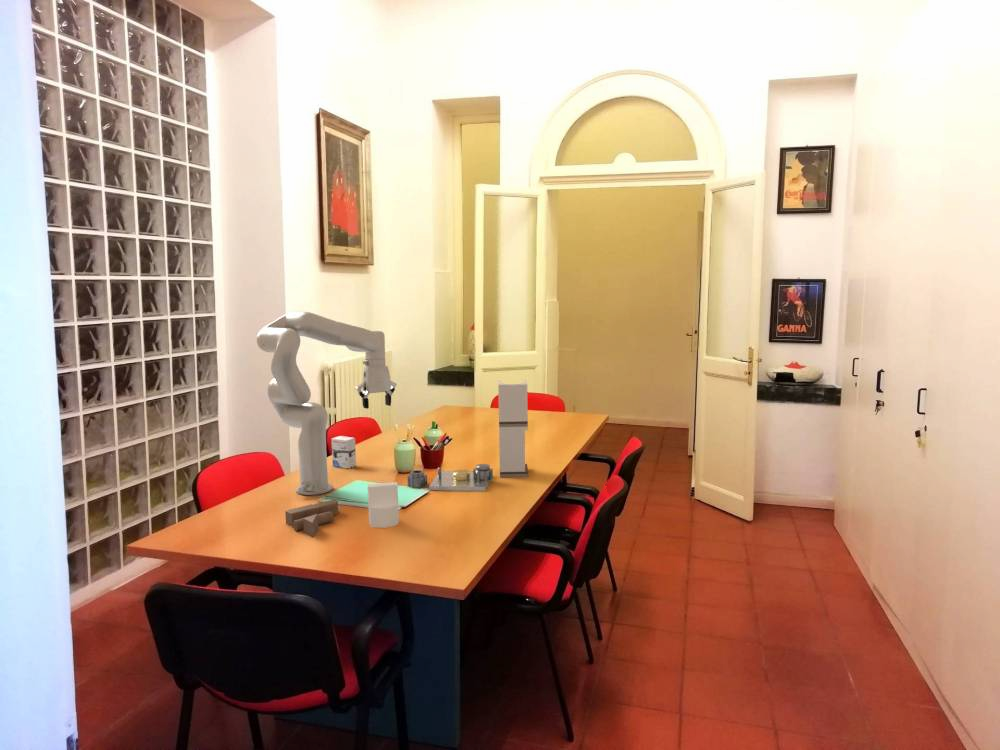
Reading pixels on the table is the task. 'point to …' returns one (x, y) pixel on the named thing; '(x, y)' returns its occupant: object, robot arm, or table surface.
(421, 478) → the planet gear
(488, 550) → the table surface
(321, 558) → the table surface
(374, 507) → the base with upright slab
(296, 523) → the wooden block set
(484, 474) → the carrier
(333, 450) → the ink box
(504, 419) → the grey tall pillar
